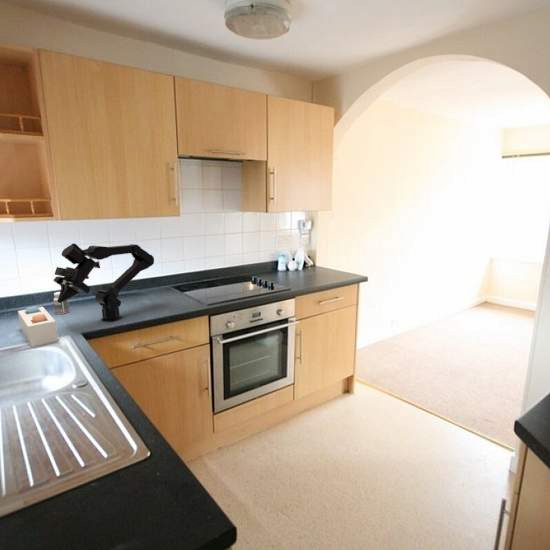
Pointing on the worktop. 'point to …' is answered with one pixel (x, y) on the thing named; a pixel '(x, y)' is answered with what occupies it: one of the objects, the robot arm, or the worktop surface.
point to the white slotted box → (38, 328)
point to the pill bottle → (60, 305)
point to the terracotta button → (39, 318)
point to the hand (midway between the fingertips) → (58, 302)
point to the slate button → (32, 309)
